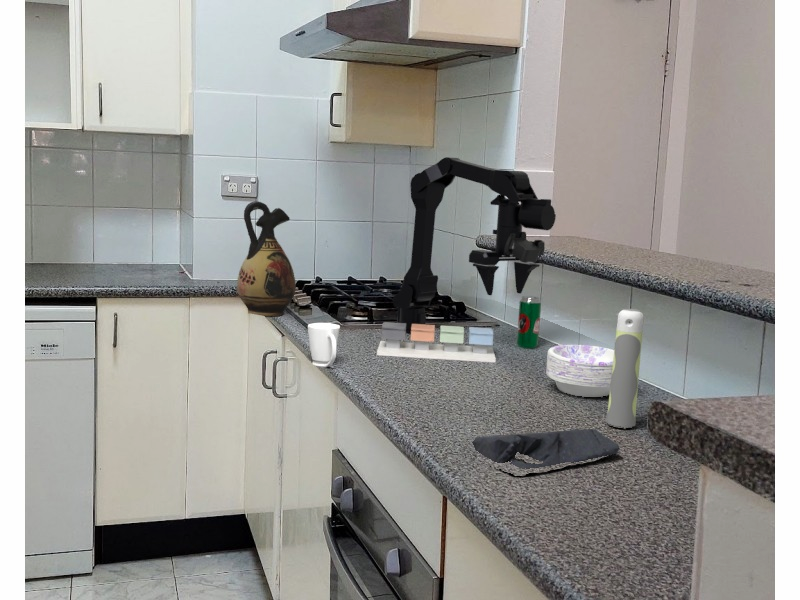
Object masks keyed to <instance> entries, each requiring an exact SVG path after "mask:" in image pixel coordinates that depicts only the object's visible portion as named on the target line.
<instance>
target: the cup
mask: <svg viewBox="0 0 800 600" xmlns="http://www.w3.org/2000/svg"><path fill="white" fill-rule="evenodd" d="M340 327H341V325H339V324H335V323H332V322H331V323H329V322H314V323H309V324H307V331H308V341H309V342H308V343H309V350H310V355H311V359H312V365H313V366H316V367H325V368H327V367H328V368H329V367H331V366H333V364H334V362H335V360H336V357H337V344H338V339H339V334H340Z"/></svg>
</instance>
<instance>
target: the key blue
mask: <svg viewBox="0 0 800 600" xmlns="http://www.w3.org/2000/svg"><path fill="white" fill-rule="evenodd" d="M468 344H469V345H473V344H480V345H487V346H493V345H494V331H493V328H489V327H476V326H475V327H473V326H471V327H468Z"/></svg>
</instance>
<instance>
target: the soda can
mask: <svg viewBox="0 0 800 600" xmlns="http://www.w3.org/2000/svg"><path fill="white" fill-rule="evenodd" d="M518 306H519V308H518V320H517V330H516V331H517V334H516V345H517V347H519V348H521V349H528V350H529V349H531V350H532V349H536V348H537V347H538V345H539V337H540V336H539V335H540V322H541V321H540V320H541V310H542V309H541V308H542V301H541V298H540V297H539V296H532V295H523V296H521V299H520V300H519V305H518Z"/></svg>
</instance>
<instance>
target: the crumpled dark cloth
mask: <svg viewBox="0 0 800 600" xmlns="http://www.w3.org/2000/svg"><path fill="white" fill-rule="evenodd" d="M474 438H475V440H474V441H473V442H472V443H473V445H474V447H475V450H476V451H478V452H479V453H481V454H482V455H484V456H485V457H487V458H489V459H491V460H492V461H494V462H497V463H505V462H508V461H509V462H511V461H512V462H511V463H510V464H513V465H515V466H517V467H520V468H522V469H525V468H526V469H530V468H539V467H545V466H551V465H556V464H560V463H565V462H571V463H574V462H579V461H585V460H588V459H593V458H598V457H602V456H607V455H610V456H613V455H616V454H618V453H619V452H620V451H621V450H620V445H619V444H618V443H617V442H615V441H613V440H612V439H610V438H609V437H608V436H605V435H604V433H601V432H600V431H598V430H597V429H595V428H588V429H586V428H584V429H569V430H560V431H559V430H558V431H556V430H555V431H547V432H527V433H525V432H523V433H513V434H512V433H511V434H499V435H497V434H495V435H487V436H486V435H485V436H477V437H474ZM517 452H519V453H520V454H524V455H528V456H529V457H532V458H533V459H536V460H539V461H543V463H542V464H535V463H533V464H531V463H525V462H524V461H521V460H520V461H519V459H516V458H515V455H516V453H517ZM612 454H613V455H612Z"/></svg>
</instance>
